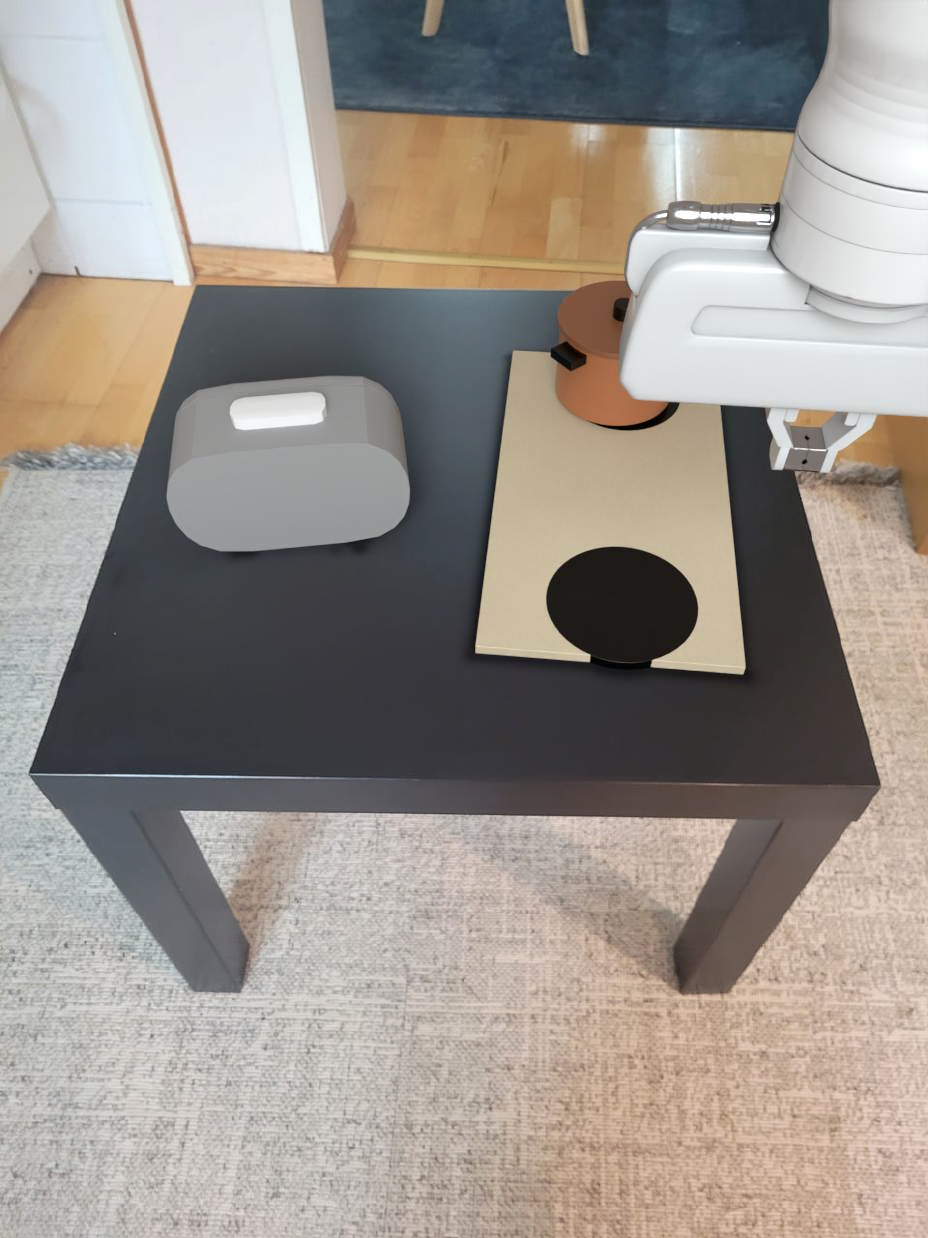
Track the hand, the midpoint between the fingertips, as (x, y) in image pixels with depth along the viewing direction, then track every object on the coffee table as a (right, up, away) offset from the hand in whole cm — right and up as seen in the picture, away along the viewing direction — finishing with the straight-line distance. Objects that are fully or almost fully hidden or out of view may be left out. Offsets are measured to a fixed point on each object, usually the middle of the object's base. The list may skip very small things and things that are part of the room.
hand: (797, 463), depth 49 cm
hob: (-4, +4, +41) cm, 41 cm away
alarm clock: (-33, +1, +39) cm, 51 cm away
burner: (-1, +15, +49) cm, 52 cm away
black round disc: (-4, -7, +31) cm, 33 cm away
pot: (-2, +15, +48) cm, 51 cm away
